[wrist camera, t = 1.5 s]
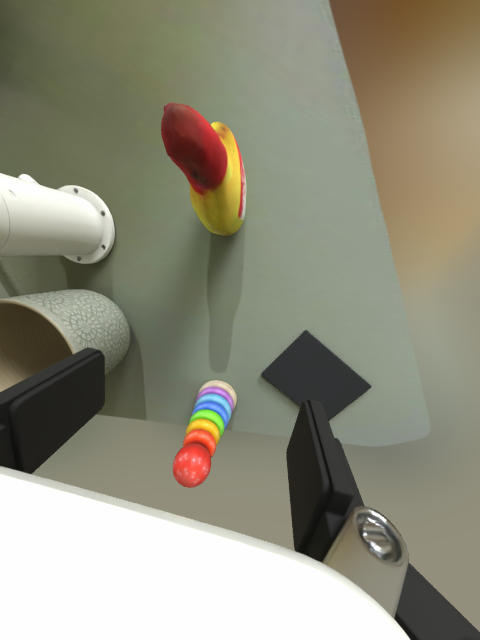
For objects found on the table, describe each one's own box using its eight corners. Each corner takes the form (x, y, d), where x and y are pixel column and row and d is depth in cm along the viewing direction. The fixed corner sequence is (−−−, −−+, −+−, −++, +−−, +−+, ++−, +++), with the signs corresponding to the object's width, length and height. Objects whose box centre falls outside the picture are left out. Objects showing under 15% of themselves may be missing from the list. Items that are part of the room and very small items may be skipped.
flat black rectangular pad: (261, 373, 43) (261, 374, 43) (306, 329, 40) (306, 330, 39) (322, 423, 45) (322, 425, 44) (370, 385, 41) (371, 386, 41)
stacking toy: (243, 407, 46) (225, 503, 28) (208, 415, 48) (171, 511, 30) (229, 374, 44) (201, 454, 27) (193, 384, 46) (145, 465, 28)
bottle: (214, 151, 34) (142, 21, 15) (255, 155, 34) (236, 26, 14) (207, 235, 38) (142, 215, 19) (244, 240, 37) (217, 225, 18)
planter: (90, 372, 49) (13, 423, 34) (48, 300, 45) (-58, 322, 30) (156, 351, 45) (101, 397, 31) (116, 270, 41) (33, 279, 27)
